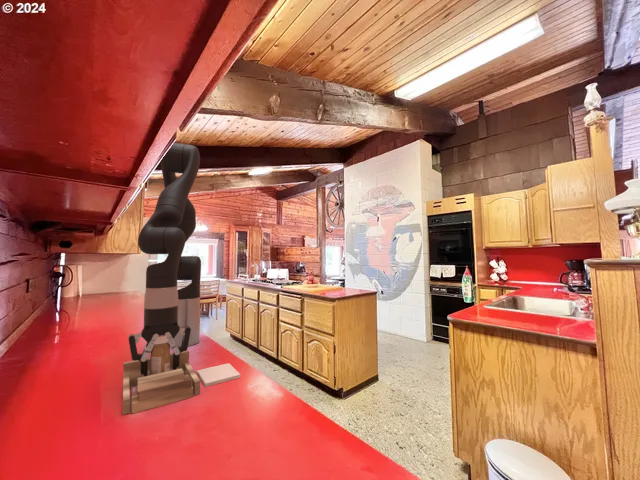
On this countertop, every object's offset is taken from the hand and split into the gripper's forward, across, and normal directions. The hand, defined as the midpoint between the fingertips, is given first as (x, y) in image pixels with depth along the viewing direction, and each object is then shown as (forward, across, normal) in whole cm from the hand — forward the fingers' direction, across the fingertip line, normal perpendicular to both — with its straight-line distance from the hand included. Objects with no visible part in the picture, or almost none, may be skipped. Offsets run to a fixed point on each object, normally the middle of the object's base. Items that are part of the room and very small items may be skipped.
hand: (160, 371), depth 70 cm
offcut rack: (+4, 0, +1) cm, 4 cm away
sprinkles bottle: (+4, 0, 0) cm, 4 cm away
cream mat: (+4, -14, +1) cm, 15 cm away
